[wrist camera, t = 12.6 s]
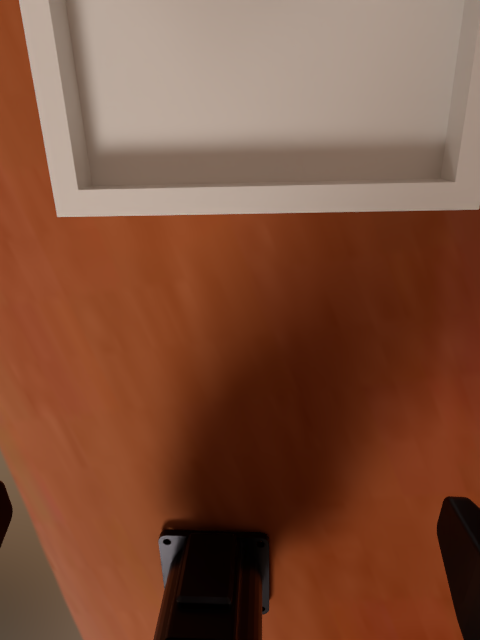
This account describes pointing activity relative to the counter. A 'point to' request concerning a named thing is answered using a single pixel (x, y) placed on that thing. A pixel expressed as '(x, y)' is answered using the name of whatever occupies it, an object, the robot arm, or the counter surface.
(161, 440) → the counter surface
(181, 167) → the tray
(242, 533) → the robot arm
